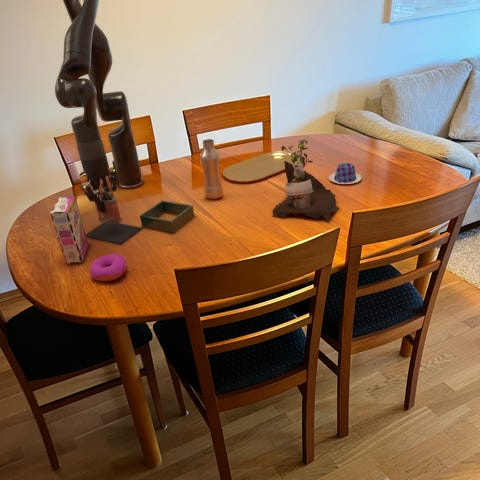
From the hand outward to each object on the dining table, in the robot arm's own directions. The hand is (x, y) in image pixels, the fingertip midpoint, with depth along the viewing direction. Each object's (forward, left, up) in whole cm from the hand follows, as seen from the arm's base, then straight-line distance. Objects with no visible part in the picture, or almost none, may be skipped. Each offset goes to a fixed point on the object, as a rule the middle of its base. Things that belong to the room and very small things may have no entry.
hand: (107, 208), depth 145 cm
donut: (+16, -20, -8) cm, 27 cm away
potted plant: (+52, +39, -8) cm, 65 cm away
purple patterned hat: (+57, +65, -8) cm, 87 cm away
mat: (0, 0, -8) cm, 8 cm away
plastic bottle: (+18, +35, -8) cm, 40 cm away
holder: (+13, +13, -8) cm, 20 cm away
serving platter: (+23, +65, -8) cm, 69 cm away
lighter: (0, 0, -4) cm, 4 cm away
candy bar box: (-1, -15, -8) cm, 17 cm away
